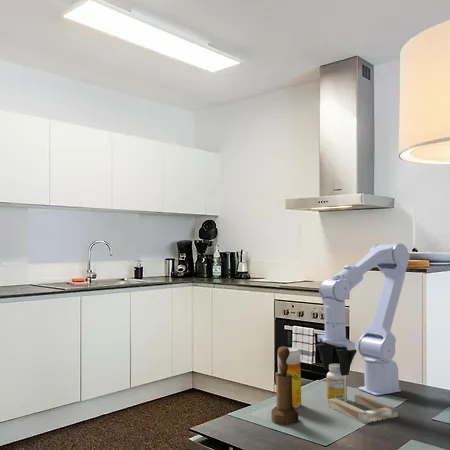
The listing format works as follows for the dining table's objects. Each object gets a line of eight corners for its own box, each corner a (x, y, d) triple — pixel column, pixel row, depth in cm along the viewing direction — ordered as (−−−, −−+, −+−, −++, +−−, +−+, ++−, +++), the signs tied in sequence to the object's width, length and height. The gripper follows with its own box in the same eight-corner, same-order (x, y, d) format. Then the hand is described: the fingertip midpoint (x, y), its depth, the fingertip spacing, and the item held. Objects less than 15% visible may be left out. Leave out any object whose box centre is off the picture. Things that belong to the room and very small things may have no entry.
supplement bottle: (334, 396, 140) (333, 361, 140) (350, 400, 136) (349, 364, 136) (323, 400, 136) (322, 365, 136) (340, 404, 132) (339, 368, 133)
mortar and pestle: (268, 423, 119) (266, 348, 120) (275, 414, 125) (273, 343, 126) (295, 426, 117) (293, 349, 118) (300, 417, 123) (299, 344, 124)
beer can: (302, 409, 129) (301, 351, 130) (279, 409, 129) (278, 351, 130) (299, 402, 135) (298, 347, 136) (277, 402, 135) (276, 347, 136)
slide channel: (360, 401, 135) (360, 393, 135) (397, 416, 122) (397, 408, 122) (329, 406, 131) (328, 399, 131) (364, 423, 118) (363, 414, 118)
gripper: (308, 320, 142) (309, 367, 141) (339, 327, 129) (340, 379, 128) (328, 318, 145) (329, 365, 144) (360, 325, 132) (362, 376, 131)
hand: (336, 371), depth 136 cm, fingers open, 7 cm apart
